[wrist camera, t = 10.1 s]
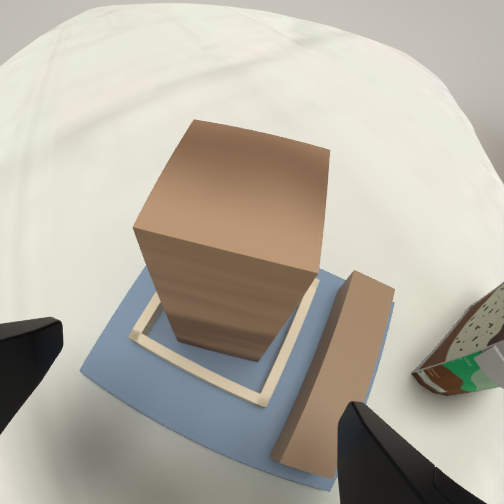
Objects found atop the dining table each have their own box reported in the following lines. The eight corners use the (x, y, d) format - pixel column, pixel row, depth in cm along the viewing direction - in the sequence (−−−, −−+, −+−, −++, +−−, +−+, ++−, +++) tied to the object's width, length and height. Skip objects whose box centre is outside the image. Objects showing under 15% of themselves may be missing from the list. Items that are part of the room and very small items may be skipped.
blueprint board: (324, 488, 15) (349, 501, 12) (85, 373, 17) (58, 361, 14) (388, 307, 22) (415, 285, 19) (187, 216, 24) (184, 182, 21)
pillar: (257, 362, 18) (318, 273, 8) (177, 341, 18) (132, 227, 8) (273, 289, 21) (329, 149, 10) (200, 271, 21) (193, 119, 11)
